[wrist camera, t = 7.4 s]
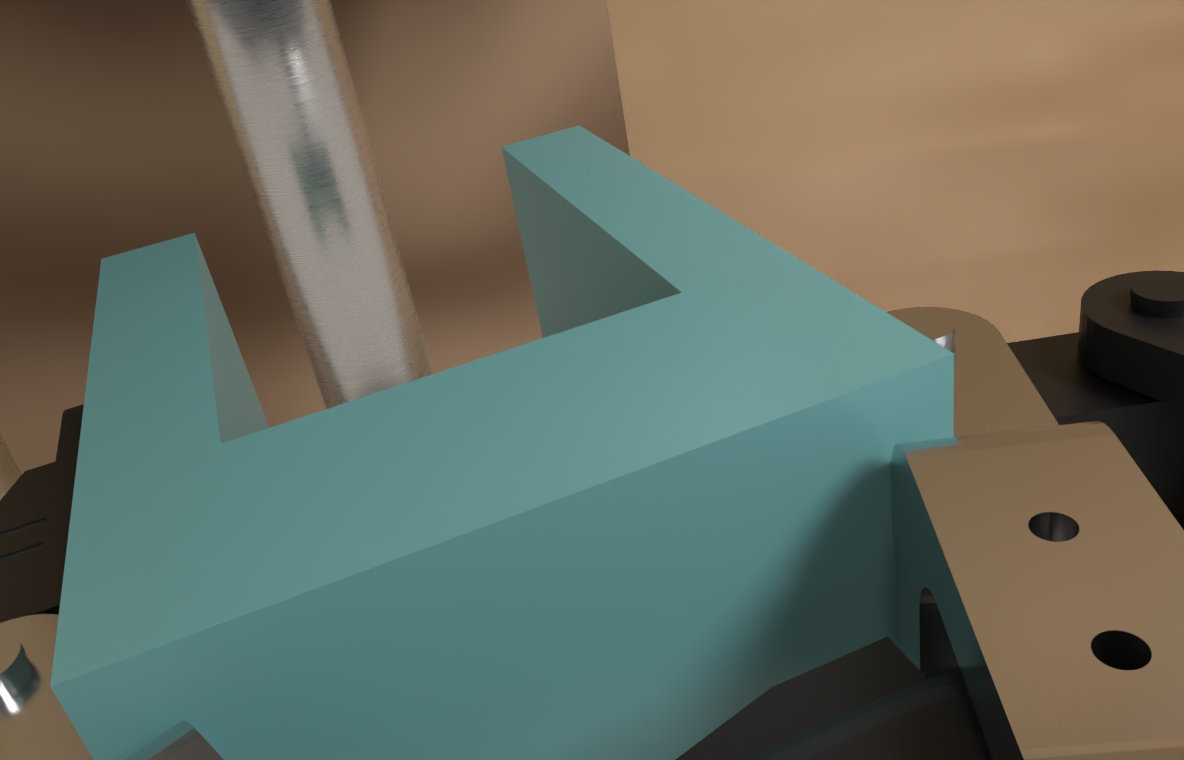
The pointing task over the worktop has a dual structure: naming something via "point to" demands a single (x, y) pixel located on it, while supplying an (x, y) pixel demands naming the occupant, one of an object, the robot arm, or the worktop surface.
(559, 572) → the block
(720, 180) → the worktop surface
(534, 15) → the base board
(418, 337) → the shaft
